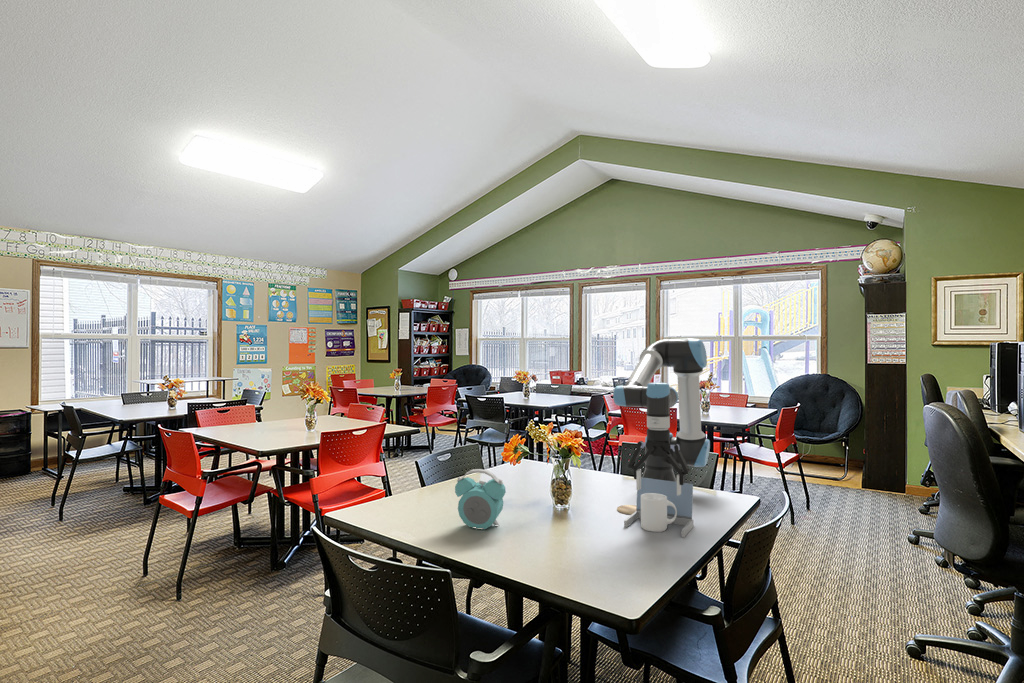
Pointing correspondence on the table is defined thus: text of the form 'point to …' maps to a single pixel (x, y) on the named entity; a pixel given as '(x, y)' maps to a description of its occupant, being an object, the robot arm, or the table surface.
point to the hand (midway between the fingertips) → (658, 491)
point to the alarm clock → (480, 500)
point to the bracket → (680, 521)
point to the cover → (669, 496)
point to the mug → (655, 512)
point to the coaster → (627, 509)
